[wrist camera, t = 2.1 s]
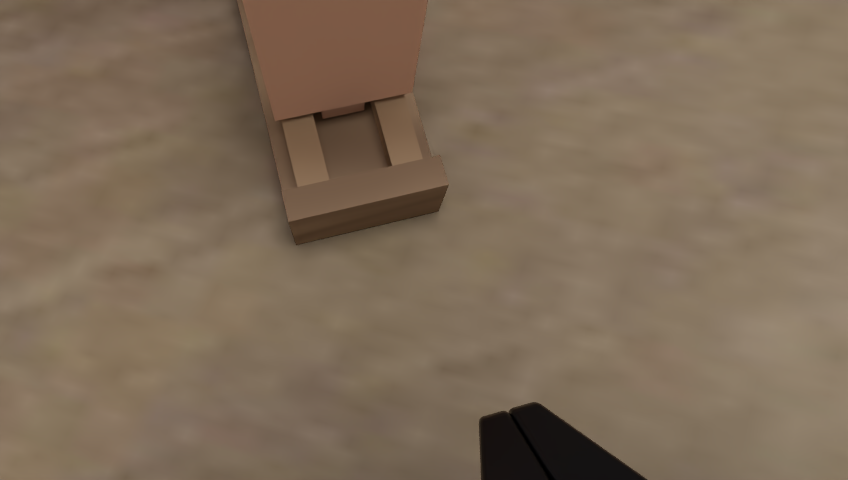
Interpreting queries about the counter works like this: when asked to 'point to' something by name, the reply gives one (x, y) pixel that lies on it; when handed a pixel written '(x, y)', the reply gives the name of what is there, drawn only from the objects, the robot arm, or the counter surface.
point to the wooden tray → (351, 164)
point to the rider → (335, 52)
